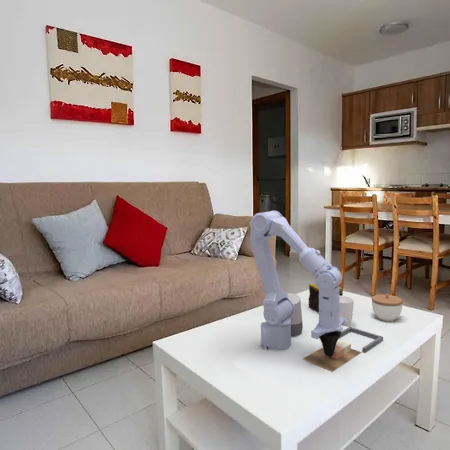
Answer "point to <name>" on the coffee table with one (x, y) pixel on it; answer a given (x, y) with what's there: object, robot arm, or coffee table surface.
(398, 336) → the coffee table surface
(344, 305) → the white cup
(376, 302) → the lidded jar
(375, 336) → the tray
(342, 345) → the cream tile
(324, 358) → the brown wooden board
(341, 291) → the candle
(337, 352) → the terracotta tile
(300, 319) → the smart speaker
